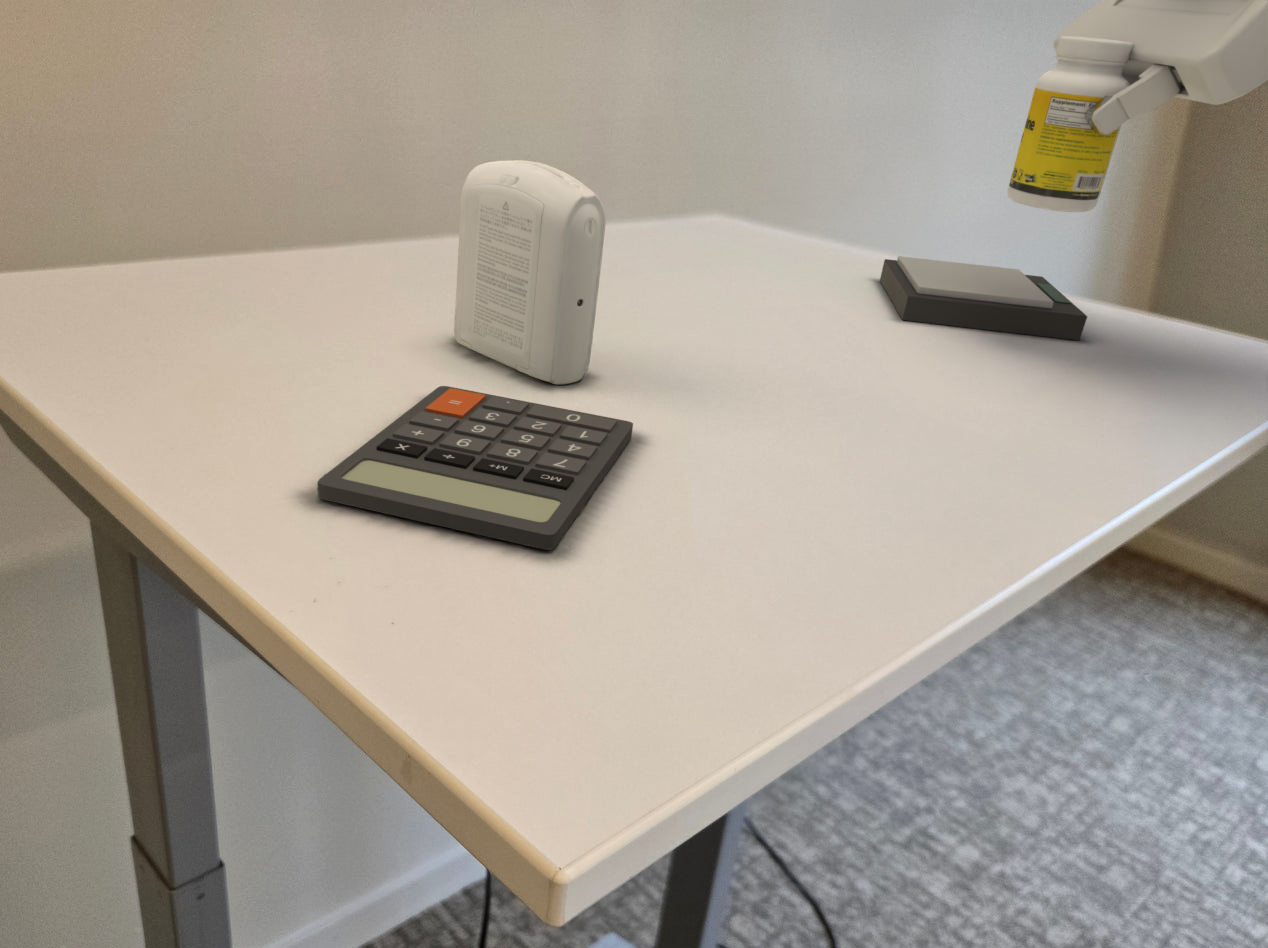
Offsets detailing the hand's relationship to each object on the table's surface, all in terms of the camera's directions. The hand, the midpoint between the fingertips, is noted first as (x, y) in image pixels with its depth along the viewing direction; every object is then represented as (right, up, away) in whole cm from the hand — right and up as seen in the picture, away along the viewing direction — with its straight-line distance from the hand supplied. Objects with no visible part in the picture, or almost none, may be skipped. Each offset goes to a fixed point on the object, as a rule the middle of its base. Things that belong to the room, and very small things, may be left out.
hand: (1066, 118), depth 76 cm
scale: (0, -10, +16) cm, 19 cm away
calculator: (-40, -26, -21) cm, 52 cm away
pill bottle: (0, -5, +3) cm, 6 cm away
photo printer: (-38, -18, -6) cm, 43 cm away
